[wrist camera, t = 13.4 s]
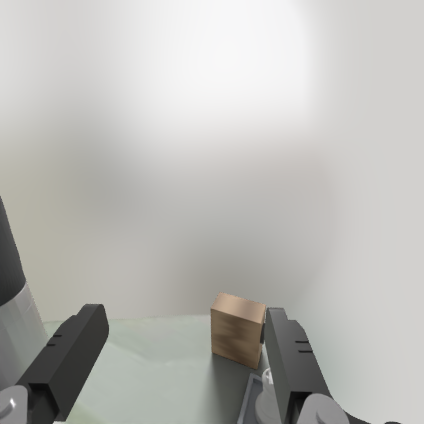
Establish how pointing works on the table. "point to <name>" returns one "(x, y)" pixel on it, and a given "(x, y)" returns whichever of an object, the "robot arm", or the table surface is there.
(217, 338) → the block
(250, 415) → the tray
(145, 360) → the table surface
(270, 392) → the rook chess piece
